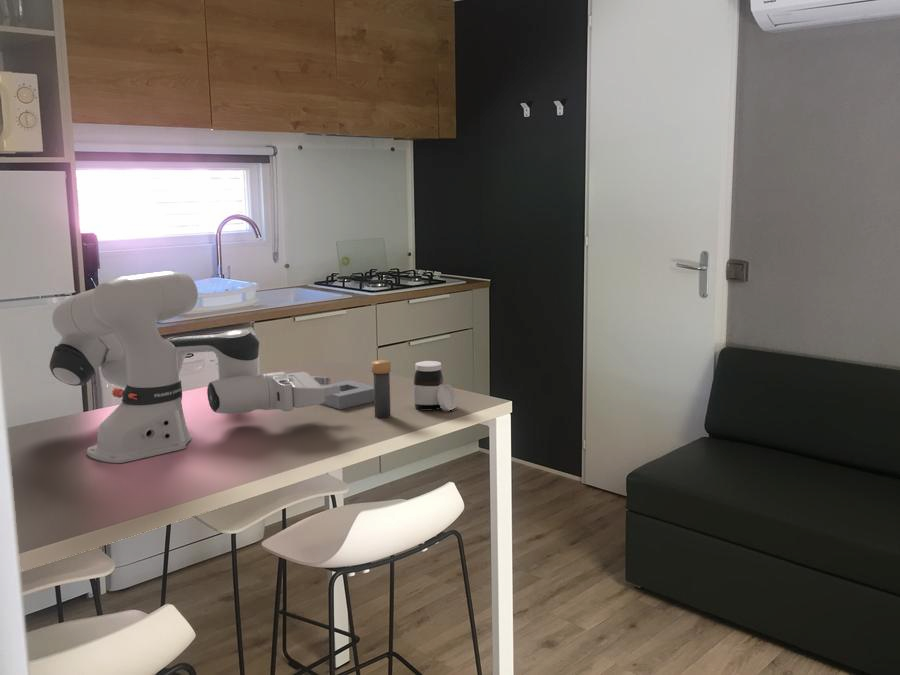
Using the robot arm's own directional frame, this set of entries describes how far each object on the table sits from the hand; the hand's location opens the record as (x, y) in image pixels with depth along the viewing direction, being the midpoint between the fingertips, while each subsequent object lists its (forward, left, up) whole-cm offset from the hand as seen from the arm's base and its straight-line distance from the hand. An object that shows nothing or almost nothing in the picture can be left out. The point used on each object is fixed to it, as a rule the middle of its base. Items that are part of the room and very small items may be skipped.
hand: (334, 384), depth 209 cm
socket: (+16, +12, -9) cm, 22 cm away
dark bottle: (+10, -7, -9) cm, 15 cm away
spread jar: (+24, -13, -10) cm, 29 cm away
